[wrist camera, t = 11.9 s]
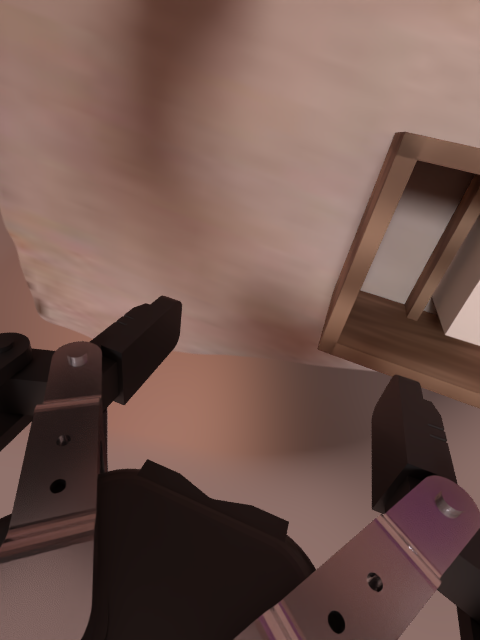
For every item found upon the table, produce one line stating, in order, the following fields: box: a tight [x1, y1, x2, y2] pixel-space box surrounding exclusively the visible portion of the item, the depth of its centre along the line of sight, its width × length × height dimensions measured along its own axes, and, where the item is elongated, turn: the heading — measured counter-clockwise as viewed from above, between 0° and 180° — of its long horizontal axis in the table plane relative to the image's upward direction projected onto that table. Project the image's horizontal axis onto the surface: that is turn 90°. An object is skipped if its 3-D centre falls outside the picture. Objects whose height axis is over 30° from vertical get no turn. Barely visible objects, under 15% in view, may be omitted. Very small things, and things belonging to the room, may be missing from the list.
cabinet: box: [318, 132, 480, 408], centre depth 26 cm, size 16×14×12 cm
